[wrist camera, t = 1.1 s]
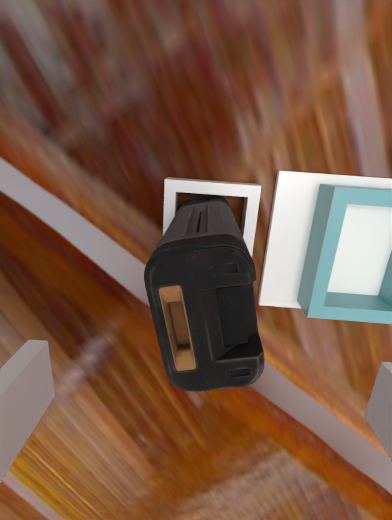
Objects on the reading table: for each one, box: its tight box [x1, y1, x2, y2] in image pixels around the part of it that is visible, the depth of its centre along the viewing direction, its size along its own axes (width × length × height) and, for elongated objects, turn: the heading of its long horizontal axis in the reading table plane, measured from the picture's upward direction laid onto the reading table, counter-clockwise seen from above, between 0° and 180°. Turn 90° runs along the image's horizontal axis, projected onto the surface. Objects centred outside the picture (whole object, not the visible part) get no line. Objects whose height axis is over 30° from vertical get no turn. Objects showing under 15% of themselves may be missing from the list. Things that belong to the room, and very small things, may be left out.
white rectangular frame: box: [163, 177, 261, 257], centre depth 34 cm, size 10×13×3 cm
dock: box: [258, 170, 392, 324], centre depth 32 cm, size 20×16×5 cm
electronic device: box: [144, 196, 264, 391], centre depth 26 cm, size 9×6×20 cm, turn 9°
